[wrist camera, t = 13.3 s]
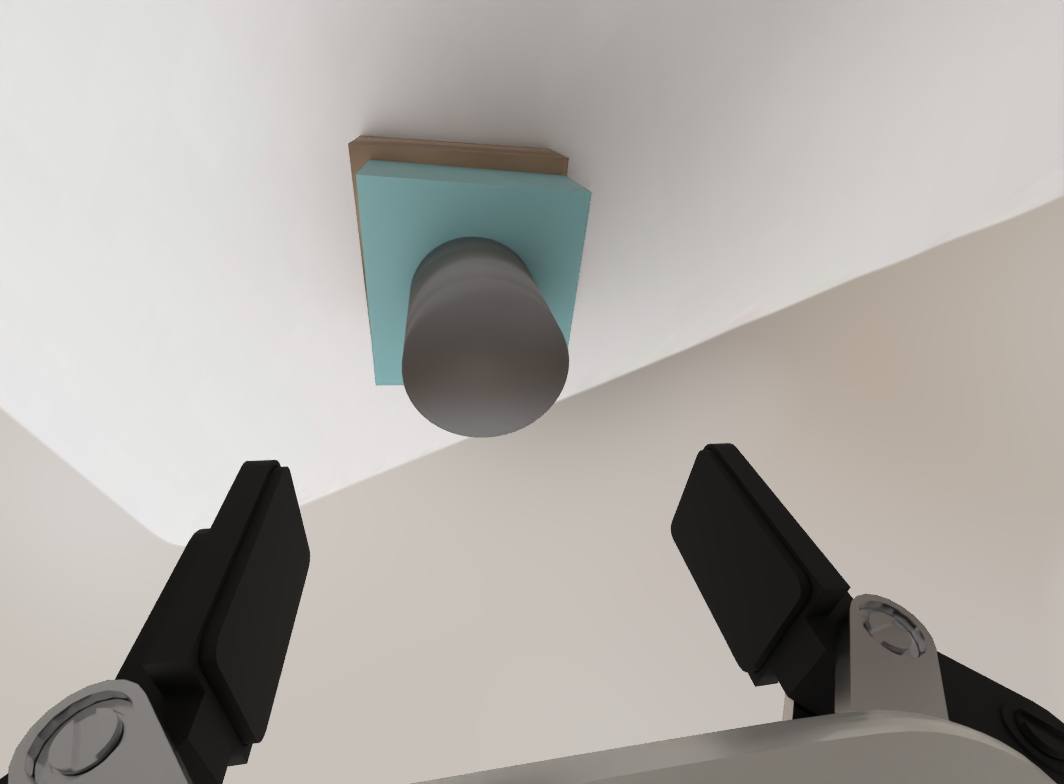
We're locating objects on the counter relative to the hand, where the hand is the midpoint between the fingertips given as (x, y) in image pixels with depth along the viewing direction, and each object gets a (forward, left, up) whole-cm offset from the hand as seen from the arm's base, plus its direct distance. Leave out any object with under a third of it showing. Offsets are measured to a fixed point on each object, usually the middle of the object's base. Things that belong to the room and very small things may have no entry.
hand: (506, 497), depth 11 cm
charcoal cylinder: (+1, 0, -14) cm, 14 cm away
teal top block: (0, 0, -19) cm, 19 cm away
